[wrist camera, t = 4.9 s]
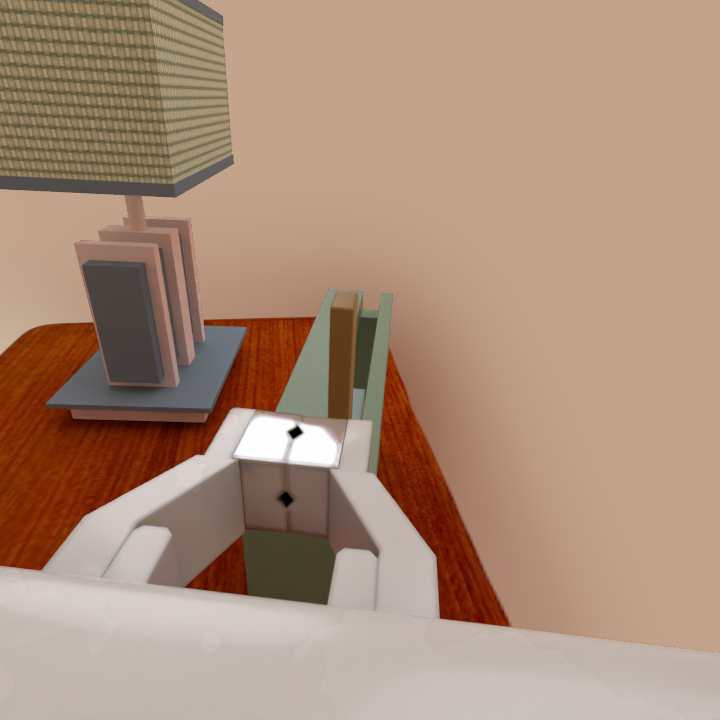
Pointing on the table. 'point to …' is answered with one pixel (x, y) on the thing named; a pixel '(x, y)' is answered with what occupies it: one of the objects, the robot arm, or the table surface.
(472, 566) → the table surface
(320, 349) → the window frame
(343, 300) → the window pane
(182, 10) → the desk lamp
